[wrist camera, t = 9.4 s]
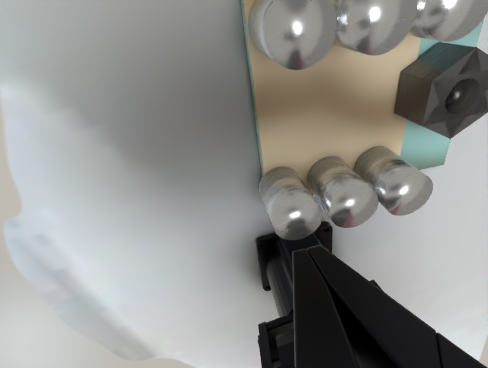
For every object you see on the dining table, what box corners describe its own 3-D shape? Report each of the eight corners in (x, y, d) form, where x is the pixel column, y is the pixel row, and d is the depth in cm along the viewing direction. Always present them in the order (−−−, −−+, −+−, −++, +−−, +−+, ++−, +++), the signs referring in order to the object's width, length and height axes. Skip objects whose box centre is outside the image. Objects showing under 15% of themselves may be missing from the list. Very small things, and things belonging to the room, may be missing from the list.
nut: (449, 118, 20) (482, 131, 18) (390, 131, 20) (418, 146, 18) (472, 35, 17) (514, 40, 15) (404, 48, 17) (439, 54, 15)
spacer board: (436, 159, 23) (445, 165, 22) (264, 197, 22) (267, 204, 21) (489, -47, 16) (505, -50, 15) (239, -5, 15) (242, -6, 14)
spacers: (396, 176, 22) (434, 208, 19) (261, 206, 21) (275, 244, 18) (434, -38, 15) (506, -49, 12) (232, -4, 14) (248, -5, 11)
